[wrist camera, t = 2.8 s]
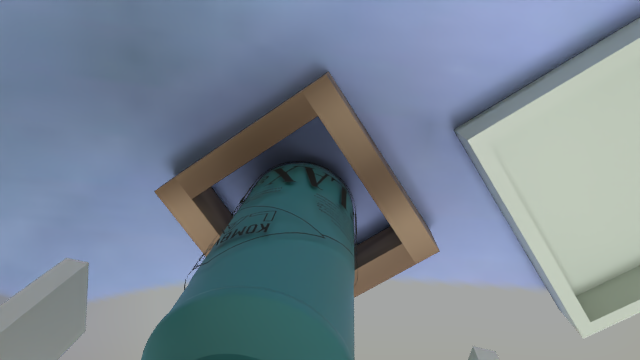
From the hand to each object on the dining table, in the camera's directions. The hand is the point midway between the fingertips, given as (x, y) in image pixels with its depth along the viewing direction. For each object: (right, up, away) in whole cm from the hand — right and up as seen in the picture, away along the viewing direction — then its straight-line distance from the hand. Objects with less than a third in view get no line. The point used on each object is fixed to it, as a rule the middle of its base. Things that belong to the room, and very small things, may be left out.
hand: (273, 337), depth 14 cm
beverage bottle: (0, +4, +13) cm, 13 cm away
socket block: (0, +4, +12) cm, 13 cm away
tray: (+19, +6, +10) cm, 23 cm away
